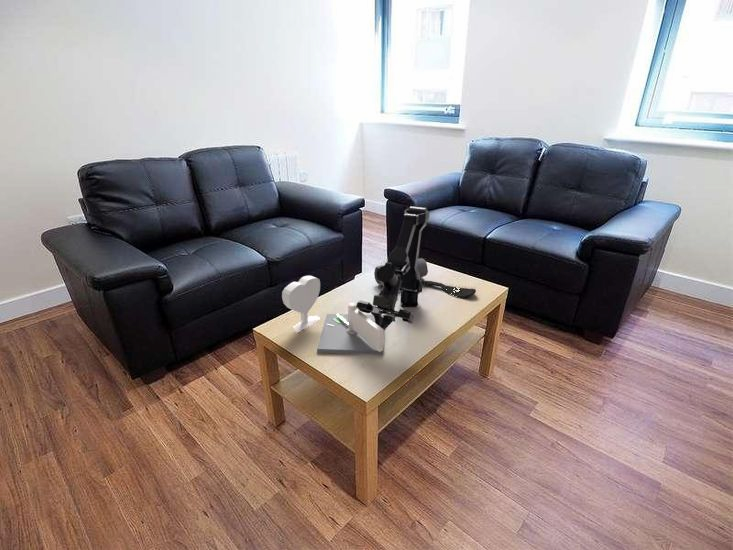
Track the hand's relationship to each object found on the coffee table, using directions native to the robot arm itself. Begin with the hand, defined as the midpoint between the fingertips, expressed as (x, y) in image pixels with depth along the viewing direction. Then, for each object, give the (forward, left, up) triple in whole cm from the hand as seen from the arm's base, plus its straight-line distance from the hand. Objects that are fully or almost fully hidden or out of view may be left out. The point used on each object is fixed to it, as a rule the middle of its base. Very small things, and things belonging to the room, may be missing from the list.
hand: (377, 336), depth 126 cm
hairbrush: (-29, -45, -7) cm, 54 cm away
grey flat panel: (+9, -10, -6) cm, 15 cm away
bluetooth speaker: (-9, -52, -7) cm, 53 cm away
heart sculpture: (+28, -16, -6) cm, 33 cm away
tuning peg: (+7, -7, -4) cm, 11 cm away
